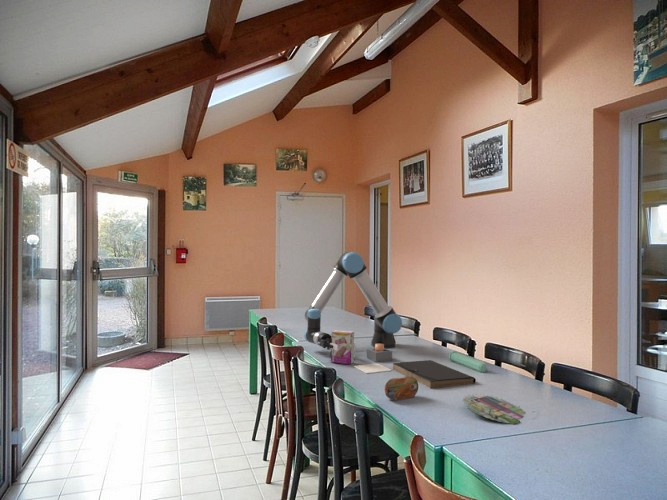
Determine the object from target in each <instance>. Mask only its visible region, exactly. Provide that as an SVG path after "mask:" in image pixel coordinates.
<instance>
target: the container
mask: <svg viewBox="0 0 667 500" xmlns="http://www.w3.org/2000/svg"><path fill="white" fill-rule="evenodd" d="M448 359H449V360H450V362H454V363H456V364H459V365H461V366H464V367H466V368H469V369H471V370H474V371H477V372H479V373H485V372H487V370H488V366H487V365H486V363H485V362H483V361H481V360H477V359H475V358H472V357H469V356H468V355H465V354H462V353H460V352H459V353H458V351H456V350H451V352H450V353H449V354H448Z"/></svg>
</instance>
